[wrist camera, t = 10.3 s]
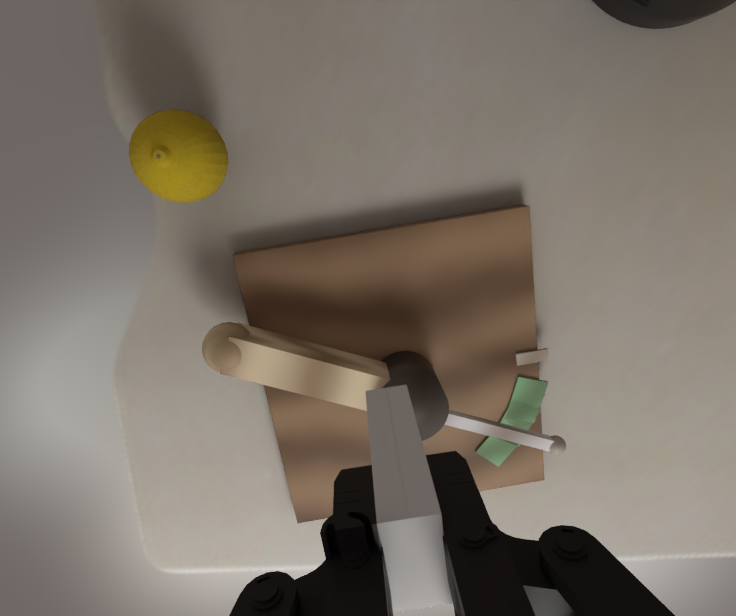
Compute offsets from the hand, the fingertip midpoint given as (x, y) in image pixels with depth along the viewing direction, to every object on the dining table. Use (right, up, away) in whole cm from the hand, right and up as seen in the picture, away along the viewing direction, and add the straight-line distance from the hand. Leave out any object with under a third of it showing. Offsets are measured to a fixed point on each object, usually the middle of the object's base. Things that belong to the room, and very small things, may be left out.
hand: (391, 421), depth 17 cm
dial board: (+2, -1, +22) cm, 22 cm away
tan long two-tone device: (0, -1, +21) cm, 21 cm away
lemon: (-13, +15, +17) cm, 26 cm away
